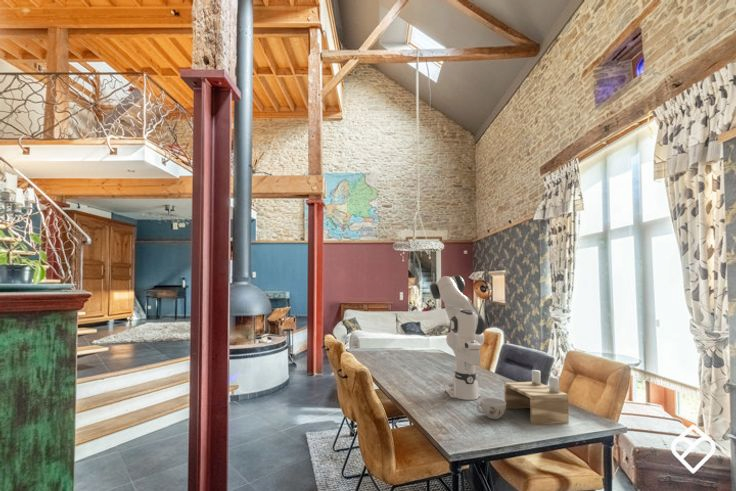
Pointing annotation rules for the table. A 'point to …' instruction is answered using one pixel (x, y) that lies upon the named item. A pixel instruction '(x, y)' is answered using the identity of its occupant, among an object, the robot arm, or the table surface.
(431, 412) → the table surface
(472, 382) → the robot arm
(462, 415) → the table surface
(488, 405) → the teacup
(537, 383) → the rounded upright piece
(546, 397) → the wooden bridge shelf
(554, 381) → the grey upright piece
